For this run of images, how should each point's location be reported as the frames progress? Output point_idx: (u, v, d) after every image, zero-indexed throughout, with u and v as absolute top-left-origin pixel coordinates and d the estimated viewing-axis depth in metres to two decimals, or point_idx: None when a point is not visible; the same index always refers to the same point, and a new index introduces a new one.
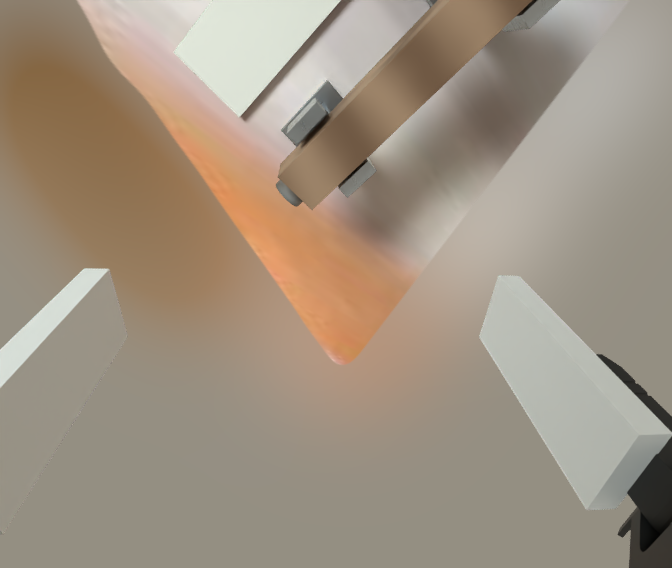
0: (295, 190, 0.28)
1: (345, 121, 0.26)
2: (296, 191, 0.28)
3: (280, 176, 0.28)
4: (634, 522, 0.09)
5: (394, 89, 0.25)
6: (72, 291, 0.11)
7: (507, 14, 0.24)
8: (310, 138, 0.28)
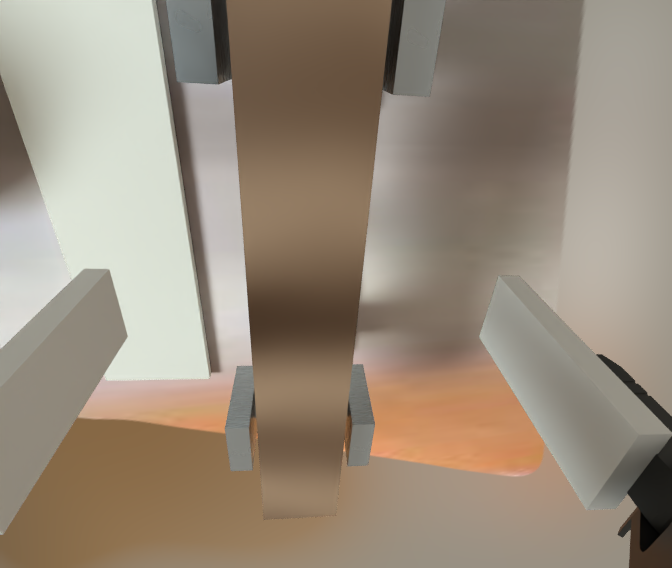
0: (296, 515, 0.18)
1: (274, 436, 0.15)
2: (298, 515, 0.18)
3: (265, 517, 0.18)
4: (634, 522, 0.09)
5: (293, 369, 0.14)
6: (72, 291, 0.11)
7: (359, 143, 0.10)
8: None
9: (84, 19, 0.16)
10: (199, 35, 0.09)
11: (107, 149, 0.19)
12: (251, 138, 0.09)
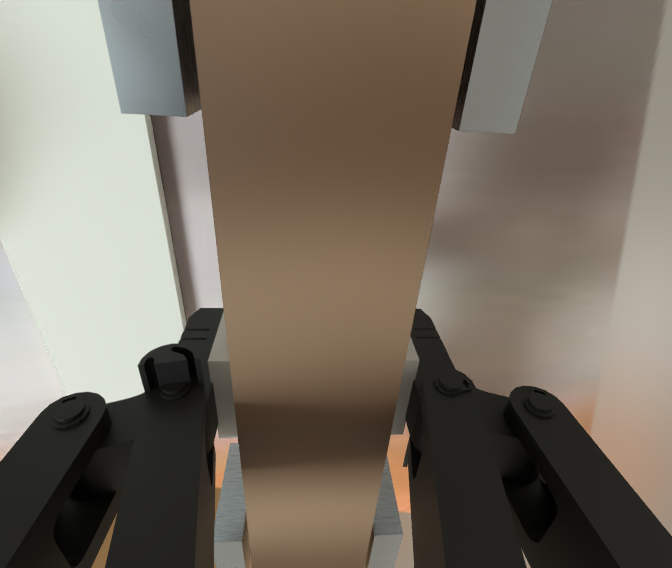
0: None
1: (273, 564, 0.12)
2: None
3: None
4: (408, 453, 0.10)
5: (299, 493, 0.10)
6: None
7: (408, 209, 0.06)
8: None
9: (38, 20, 0.13)
10: (153, 40, 0.06)
11: (74, 179, 0.15)
12: (236, 203, 0.06)
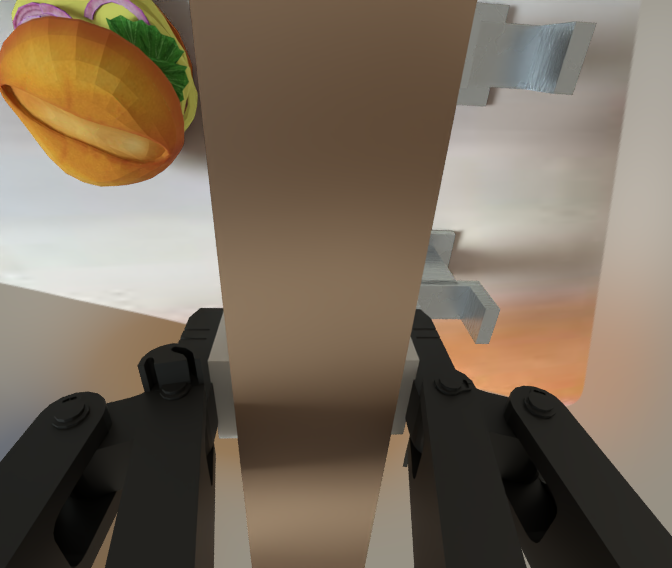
0: None
1: (273, 565, 0.12)
2: None
3: None
4: (408, 453, 0.10)
5: (299, 495, 0.10)
6: None
7: (408, 211, 0.06)
8: None
9: None
10: (465, 64, 0.18)
11: None
12: (236, 206, 0.06)
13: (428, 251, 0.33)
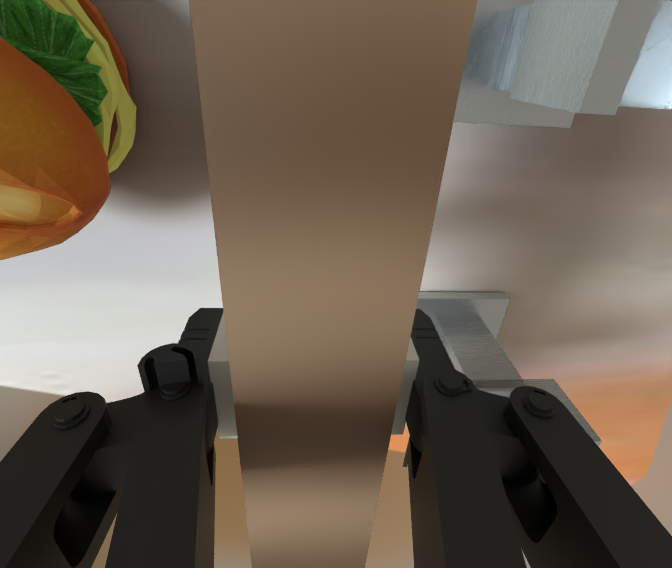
0: None
1: (273, 565, 0.12)
2: None
3: None
4: (408, 453, 0.10)
5: (299, 495, 0.10)
6: None
7: (408, 211, 0.06)
8: None
9: None
10: (620, 69, 0.09)
11: None
12: (237, 206, 0.06)
13: (472, 321, 0.24)
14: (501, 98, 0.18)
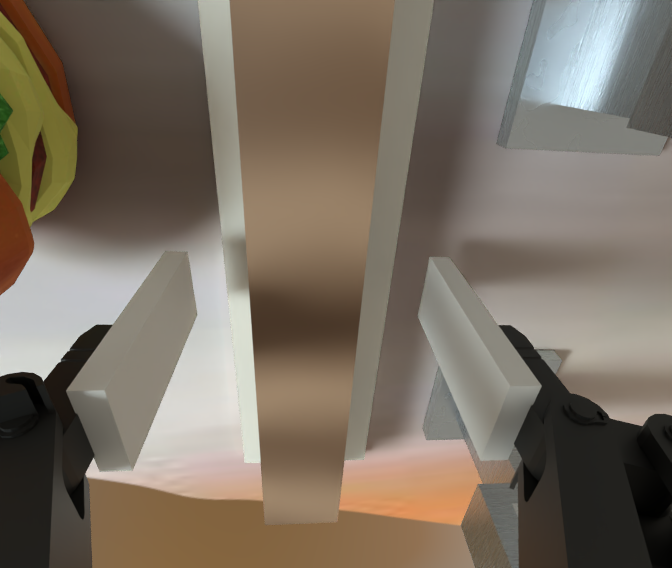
0: (297, 521, 0.18)
1: (275, 442, 0.15)
2: (299, 521, 0.18)
3: (266, 522, 0.18)
4: (519, 475, 0.09)
5: (295, 374, 0.14)
6: (162, 270, 0.12)
7: (361, 151, 0.10)
8: None
9: None
10: None
11: None
12: (254, 146, 0.10)
13: None
14: (572, 118, 0.13)
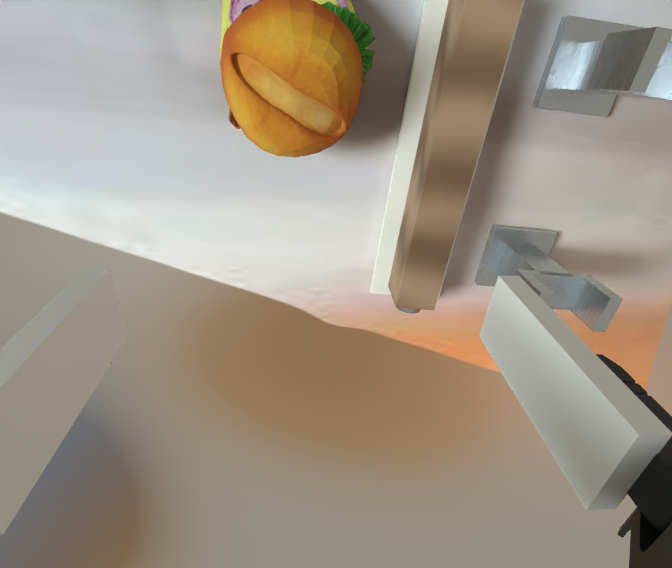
0: (413, 306, 0.34)
1: (418, 244, 0.31)
2: (414, 306, 0.34)
3: (397, 305, 0.34)
4: (634, 522, 0.09)
5: (438, 202, 0.29)
6: (72, 291, 0.11)
7: (489, 94, 0.26)
8: (399, 264, 0.34)
9: None
10: (649, 71, 0.21)
11: None
12: (451, 88, 0.26)
13: (531, 248, 0.36)
14: (568, 95, 0.30)
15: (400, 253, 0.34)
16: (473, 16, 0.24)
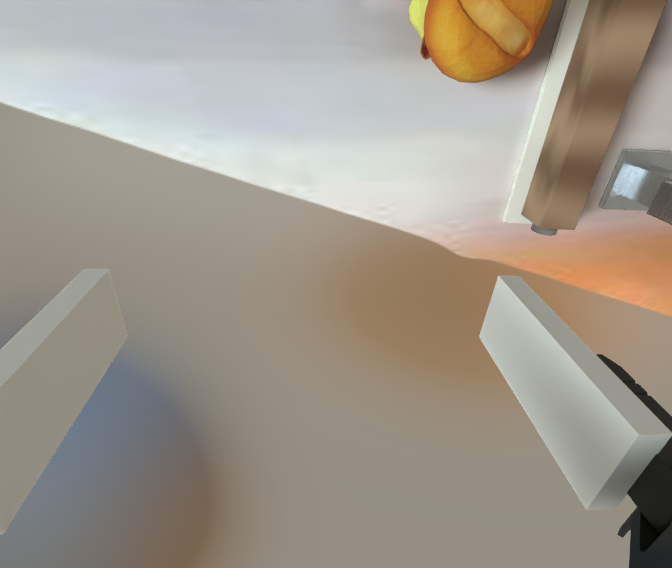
0: (556, 227, 0.37)
1: (570, 165, 0.34)
2: (557, 227, 0.37)
3: (542, 227, 0.37)
4: (634, 522, 0.09)
5: (594, 121, 0.32)
6: (72, 291, 0.11)
7: (656, 12, 0.29)
8: (542, 188, 0.37)
9: None
10: None
11: None
12: (623, 9, 0.28)
13: (659, 168, 0.39)
14: None
15: (543, 178, 0.37)
16: None
